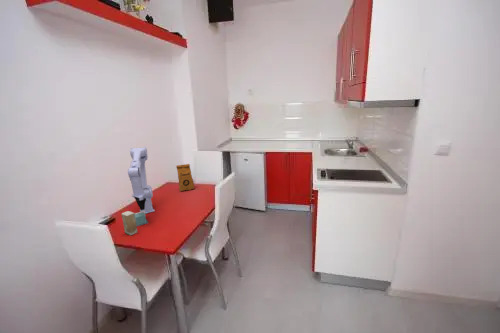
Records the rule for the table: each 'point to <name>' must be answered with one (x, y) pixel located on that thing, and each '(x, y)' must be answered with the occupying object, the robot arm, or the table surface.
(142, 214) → the teal block
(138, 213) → the light grey piece
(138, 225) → the mat
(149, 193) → the robot arm
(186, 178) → the coffee package
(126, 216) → the skincare box
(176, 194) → the table surface
